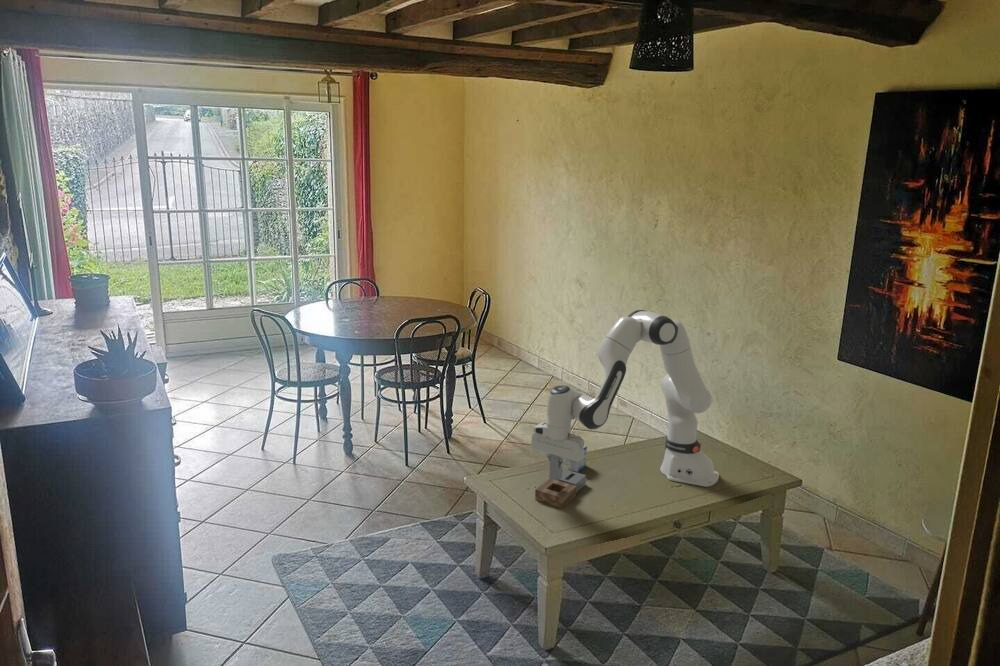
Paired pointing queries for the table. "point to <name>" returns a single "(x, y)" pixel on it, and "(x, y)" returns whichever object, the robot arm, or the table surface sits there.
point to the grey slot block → (573, 479)
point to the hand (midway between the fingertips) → (556, 466)
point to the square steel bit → (555, 467)
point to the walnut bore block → (555, 492)
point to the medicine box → (578, 465)
